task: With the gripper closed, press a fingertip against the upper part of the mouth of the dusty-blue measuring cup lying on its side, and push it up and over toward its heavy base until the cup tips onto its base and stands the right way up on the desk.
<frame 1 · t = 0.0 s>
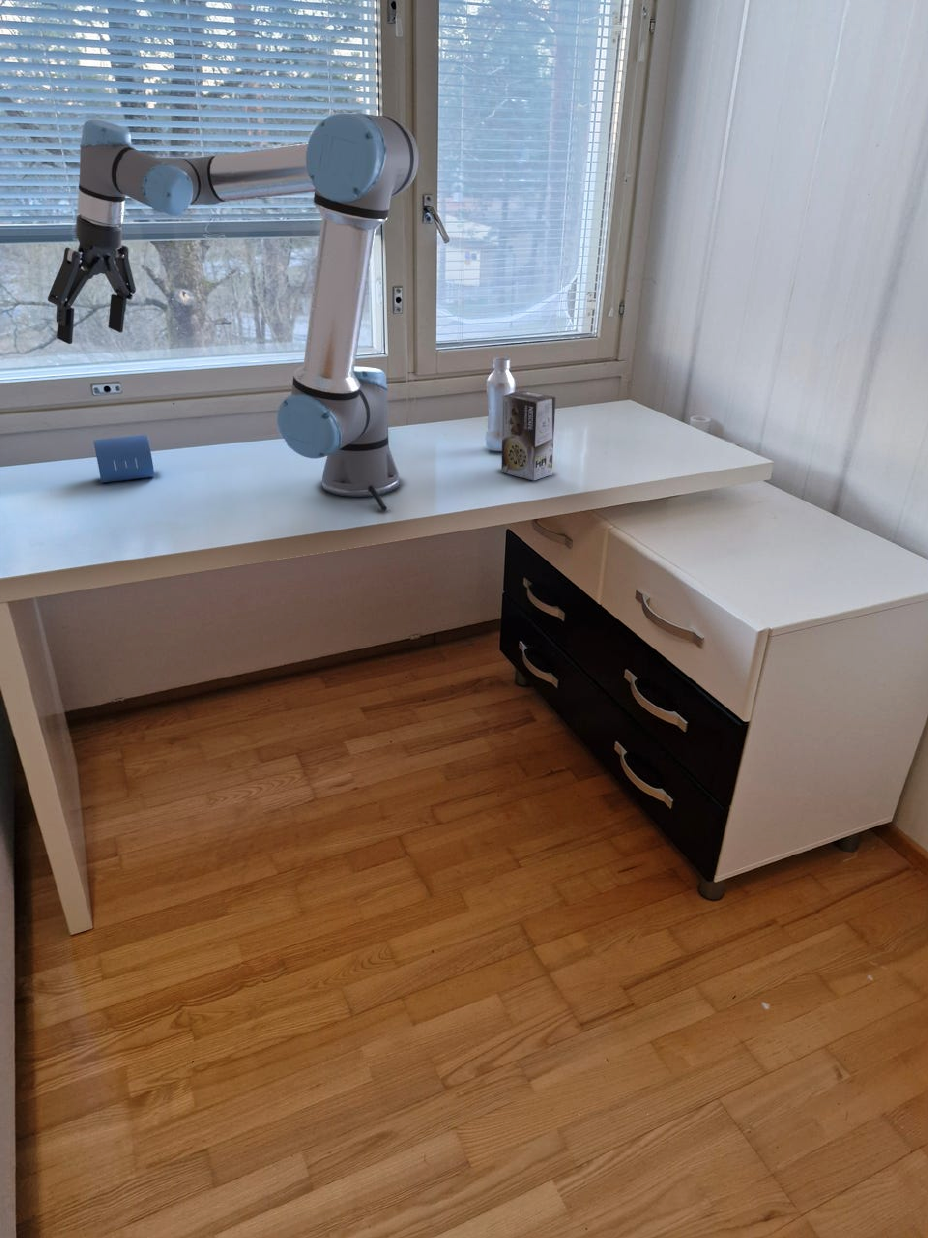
hand: (90, 335, 165), 28 cm above the table, tool tilted 20°, fingers open, 13 cm apart
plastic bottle: (499, 450, 195), on the table
measuring cup: (150, 455, 176), point 4 cm above the table
coffee box: (526, 474, 181), on the table
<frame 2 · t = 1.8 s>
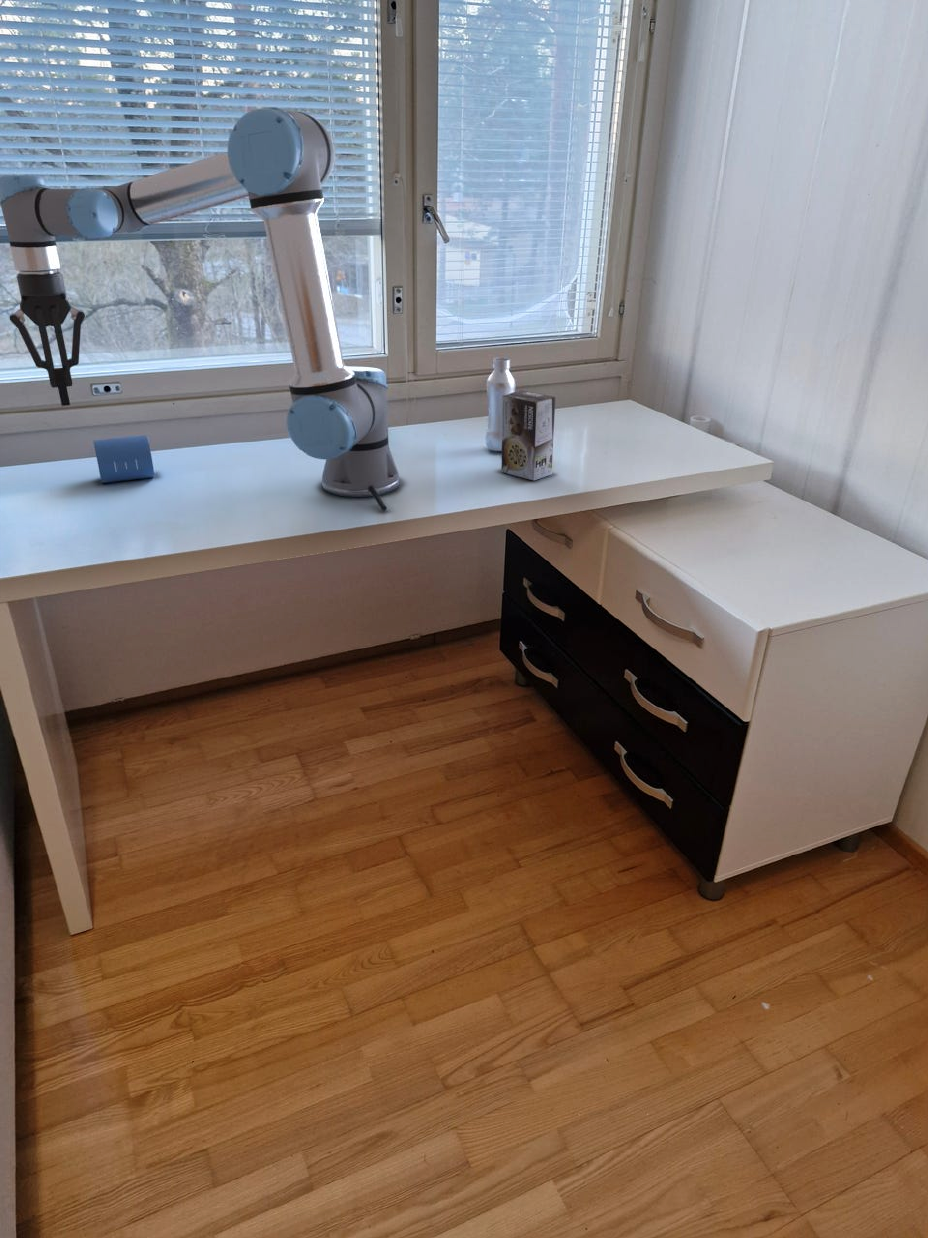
hand: (65, 403, 166), 16 cm above the table, tool pointing down, fingers closed
nothing on the table moved.
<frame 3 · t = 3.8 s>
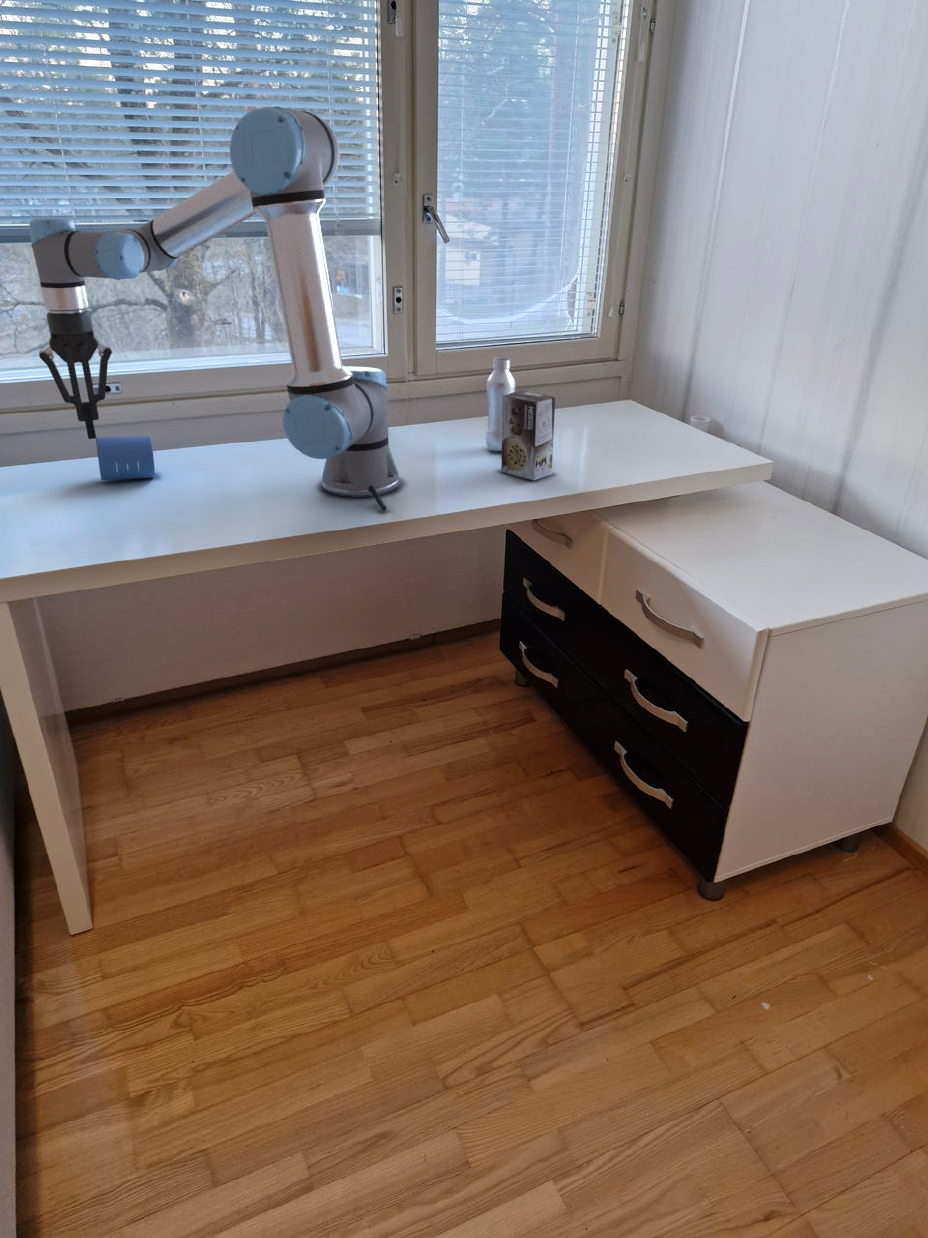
hand: (92, 436, 170), 9 cm above the table, tool pointing down, fingers closed
measuring cup: (151, 456, 176), point 4 cm above the table, tilted 10°, touching gripper
everything else where it was.
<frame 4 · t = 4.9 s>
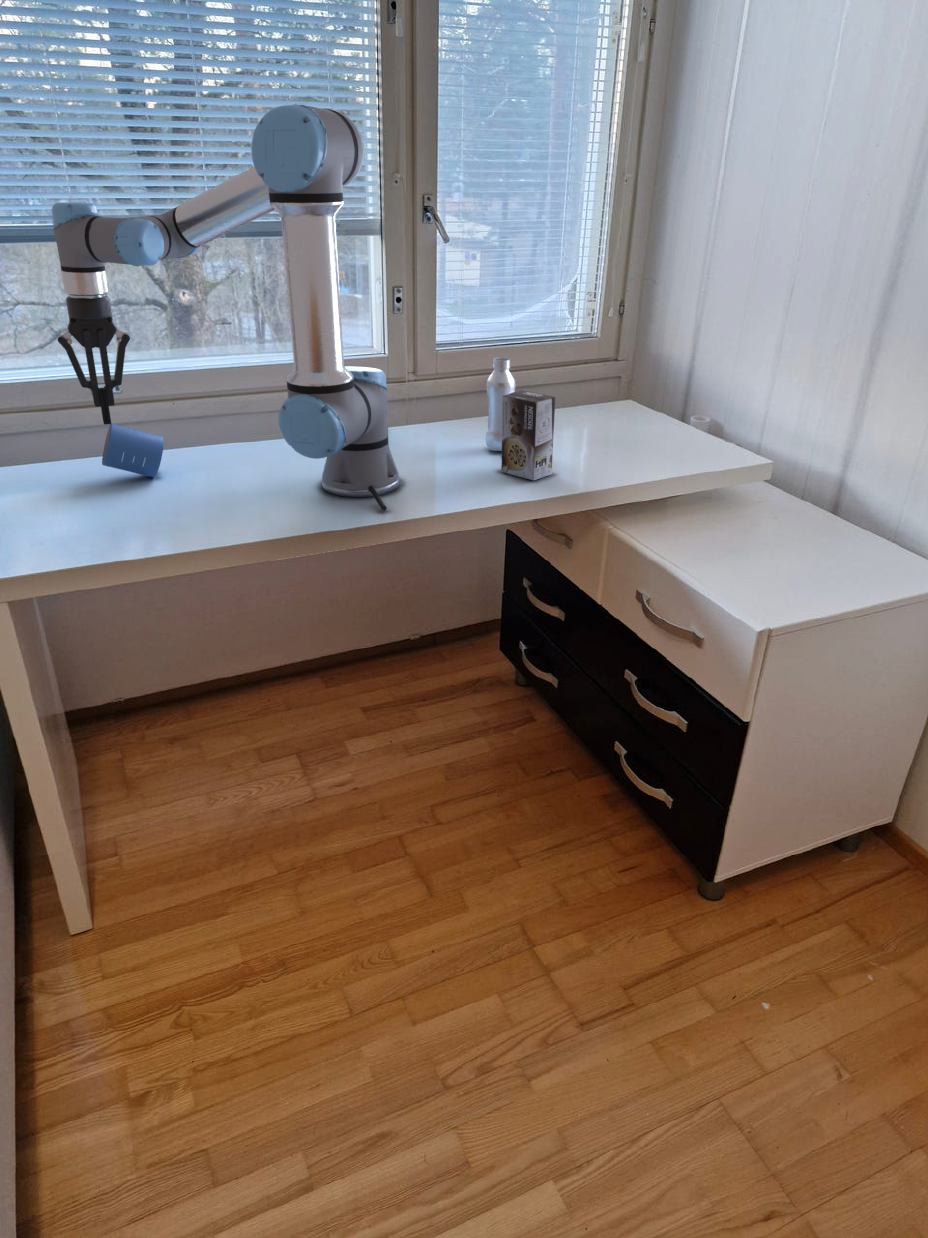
hand: (107, 422, 170), 12 cm above the table, tool pointing down, fingers closed
measuring cup: (158, 457, 176), point 4 cm above the table, tilted 23°, touching gripper
everything else where it was.
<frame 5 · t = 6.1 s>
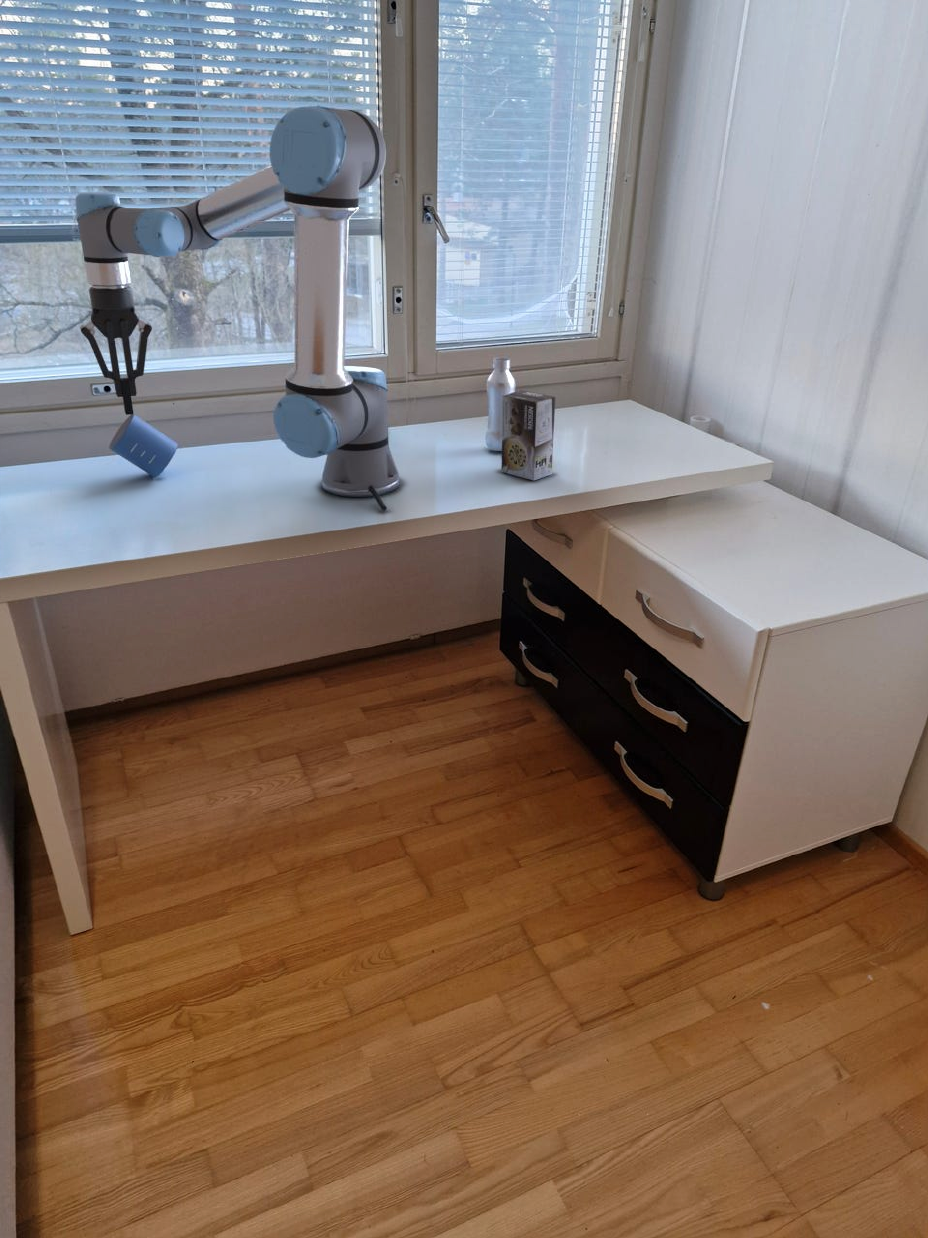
hand: (129, 412, 172), 13 cm above the table, tool pointing down, fingers closed
measuring cup: (165, 460, 177), point 3 cm above the table, tilted 42°, touching gripper
everything else where it was.
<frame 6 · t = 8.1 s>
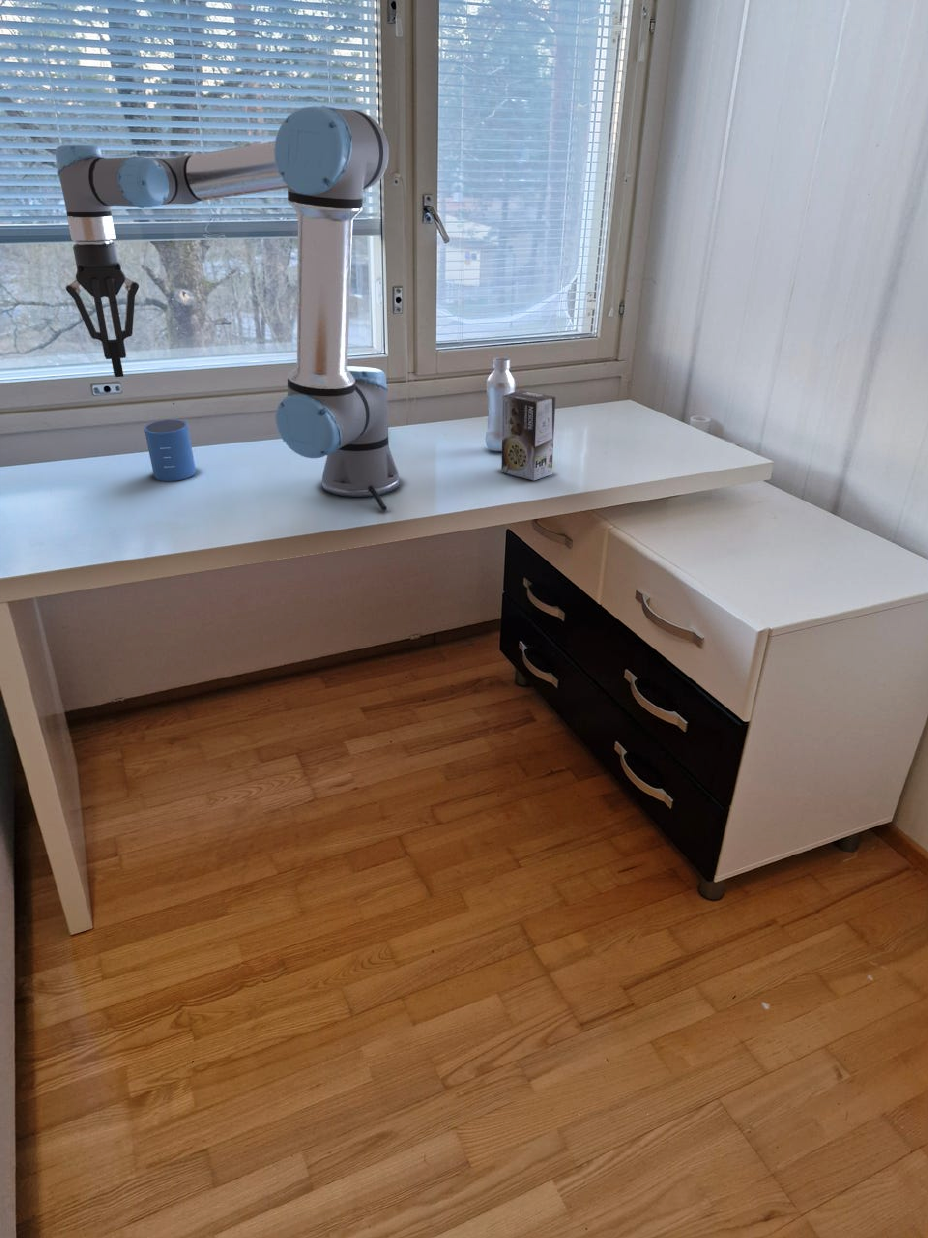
hand: (118, 375, 167), 21 cm above the table, tool pointing down, fingers closed
measuring cup: (175, 473, 179), on the table, tilted 89°
everything else where it was.
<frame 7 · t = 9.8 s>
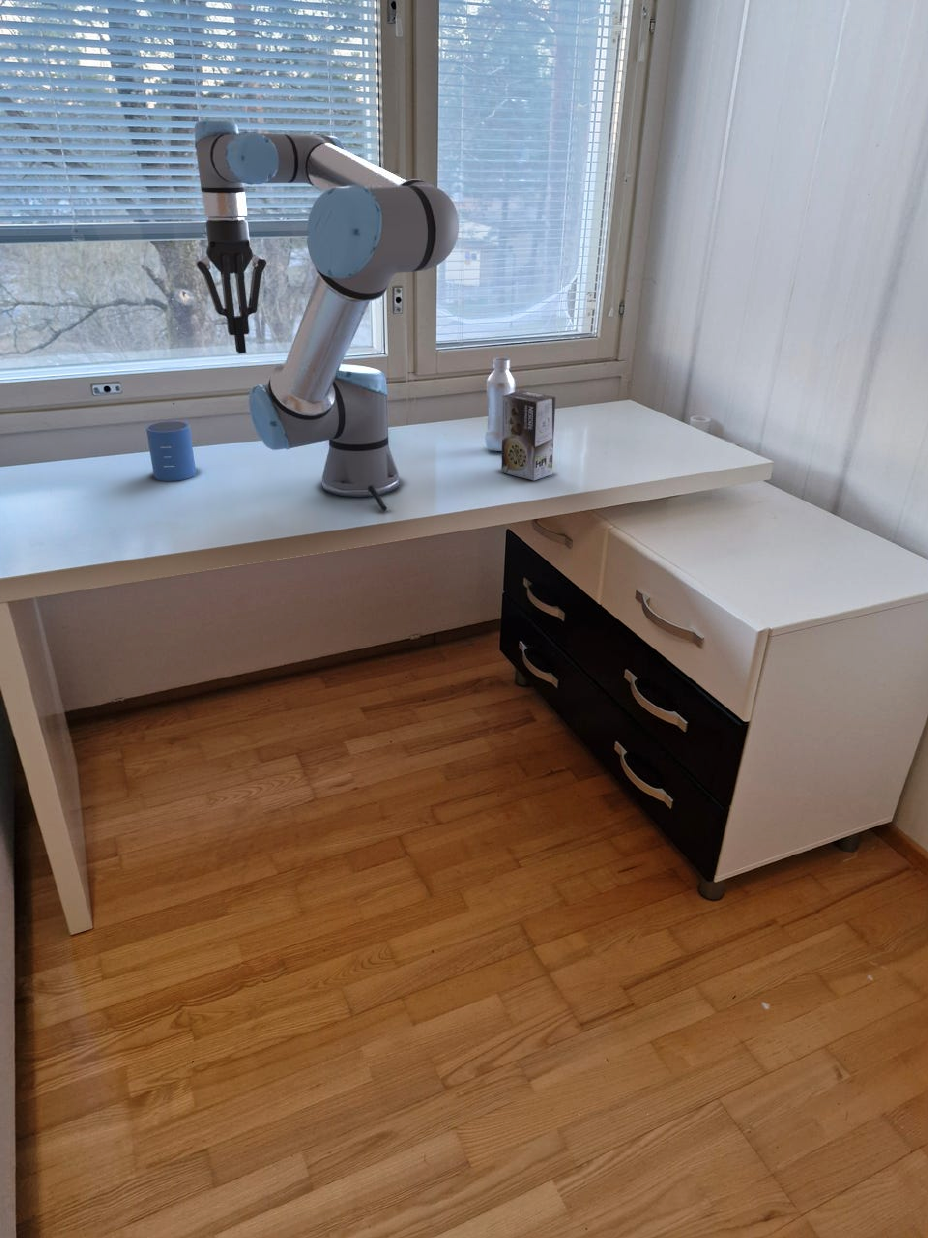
hand: (241, 351, 169), 24 cm above the table, tool pointing down, fingers closed
nothing on the table moved.
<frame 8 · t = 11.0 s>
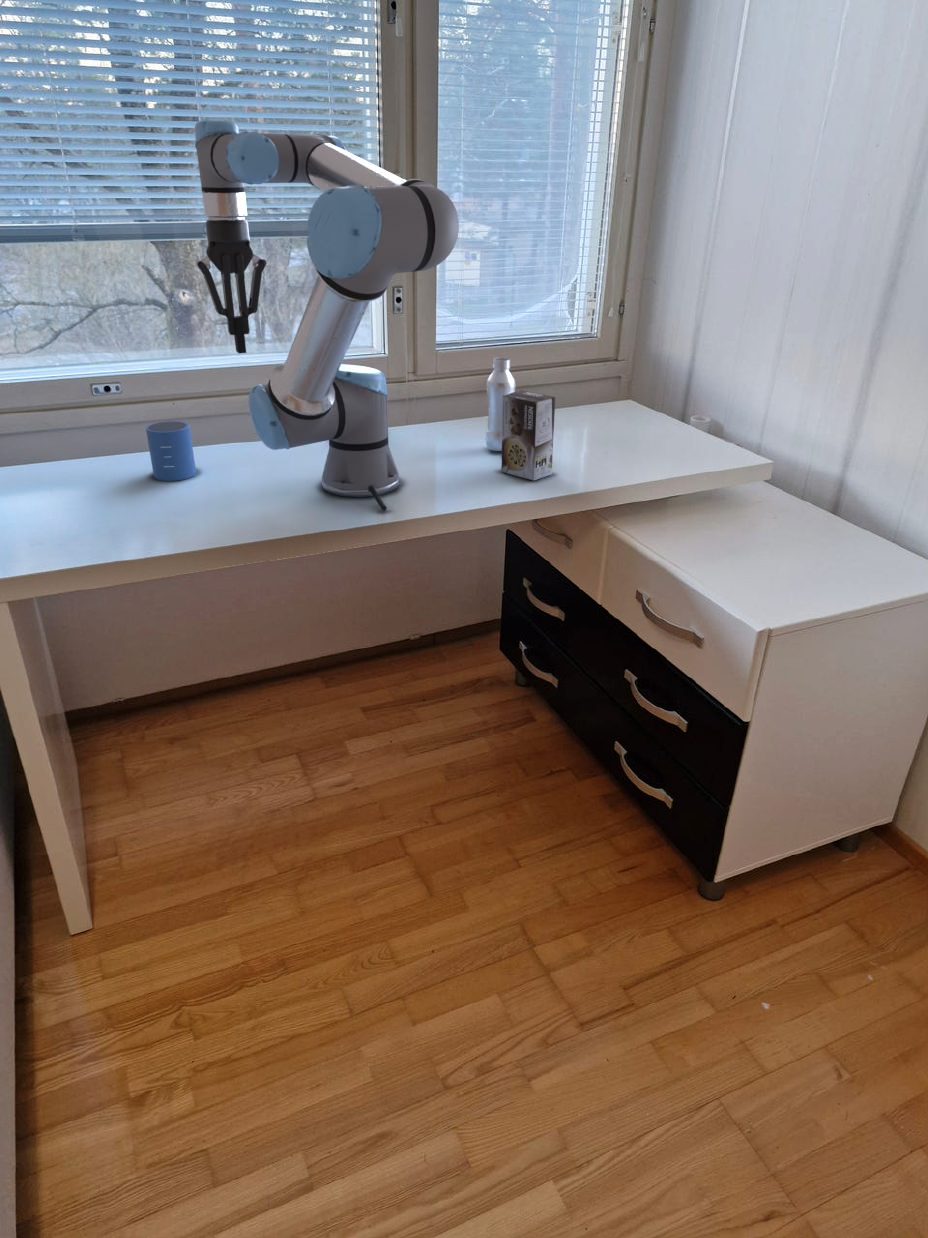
hand: (241, 351, 169), 24 cm above the table, tool pointing down, fingers closed
nothing on the table moved.
at the end: measuring cup inside the target area (1.1 cm from its centre), on the table; measuring cup tilted 90°; the gripper is holding nothing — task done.
